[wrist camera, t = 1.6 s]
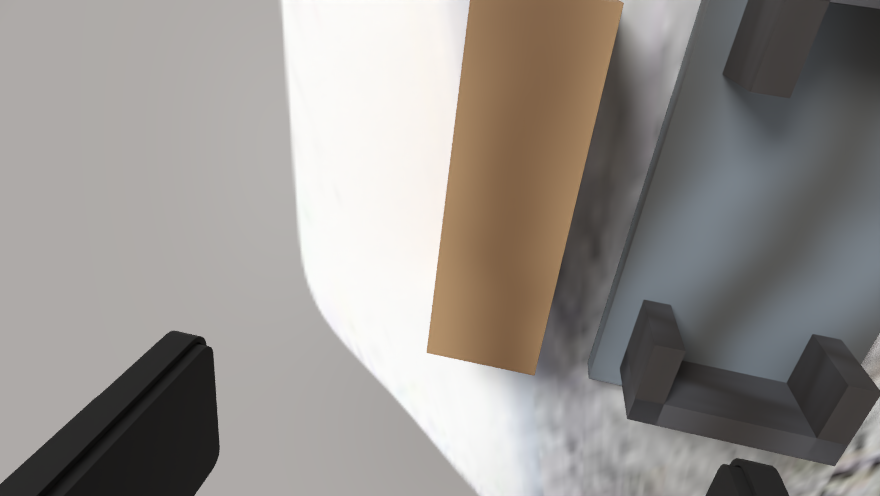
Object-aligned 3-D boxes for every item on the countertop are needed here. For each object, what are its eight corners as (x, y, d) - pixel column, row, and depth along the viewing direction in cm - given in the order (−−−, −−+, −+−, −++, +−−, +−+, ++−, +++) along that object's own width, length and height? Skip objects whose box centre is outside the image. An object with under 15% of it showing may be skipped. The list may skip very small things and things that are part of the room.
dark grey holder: (587, 363, 29) (592, 429, 25) (727, -83, 20) (771, -97, 16) (811, 412, 28) (855, 490, 24) (1072, -40, 18) (1220, -43, 14)
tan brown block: (451, 282, 29) (426, 352, 23) (493, -20, 22) (472, -17, 17) (539, 299, 28) (534, 375, 23) (608, -6, 22) (623, 3, 16)
